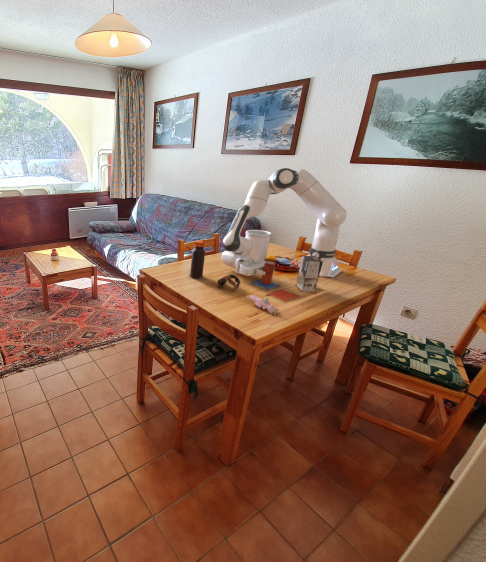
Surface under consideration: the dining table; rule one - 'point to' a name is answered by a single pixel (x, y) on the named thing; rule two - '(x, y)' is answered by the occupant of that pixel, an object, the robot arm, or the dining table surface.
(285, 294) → the terracotta mat
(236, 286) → the brown headphones
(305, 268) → the coffee box
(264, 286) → the blue mat
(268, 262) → the rust-red canister
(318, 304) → the dining table surface
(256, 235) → the utensil holder
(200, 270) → the bottle
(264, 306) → the pink elongated piece
